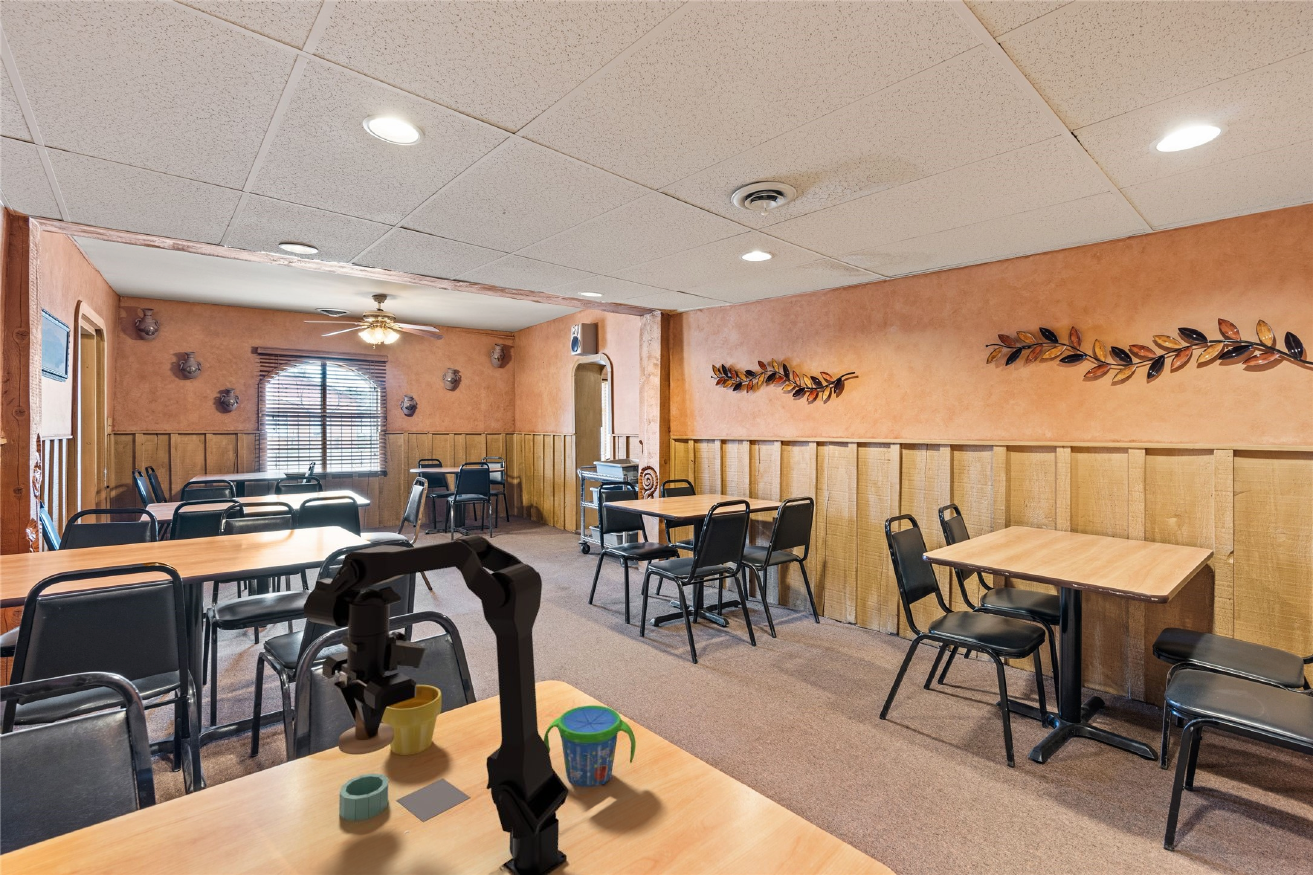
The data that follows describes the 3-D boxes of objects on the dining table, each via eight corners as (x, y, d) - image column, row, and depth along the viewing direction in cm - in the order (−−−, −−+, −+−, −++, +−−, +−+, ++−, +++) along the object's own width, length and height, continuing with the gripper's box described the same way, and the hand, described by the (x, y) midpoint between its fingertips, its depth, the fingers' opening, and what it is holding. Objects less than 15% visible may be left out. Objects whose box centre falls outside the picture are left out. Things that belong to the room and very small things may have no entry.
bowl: (395, 810, 93) (396, 784, 93) (351, 831, 88) (352, 804, 88) (375, 793, 98) (375, 768, 98) (332, 813, 93) (332, 786, 93)
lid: (403, 740, 94) (403, 708, 94) (352, 760, 88) (353, 725, 88) (379, 724, 98) (380, 693, 98) (329, 742, 93) (330, 709, 93)
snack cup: (532, 789, 100) (533, 727, 100) (556, 756, 110) (557, 700, 110) (625, 803, 96) (626, 739, 96) (641, 768, 107) (642, 710, 107)
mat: (470, 802, 96) (470, 797, 96) (423, 827, 90) (423, 821, 90) (442, 783, 101) (442, 778, 101) (396, 805, 95) (396, 800, 95)
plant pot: (373, 767, 105) (373, 710, 105) (387, 737, 116) (388, 686, 115) (436, 761, 107) (436, 706, 107) (444, 733, 118) (445, 682, 117)
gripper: (450, 632, 93) (447, 733, 93) (390, 607, 105) (388, 697, 105) (377, 651, 85) (375, 763, 85) (321, 621, 97) (319, 719, 97)
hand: (366, 732), depth 93 cm, fingers closed on lid, 3 cm apart
